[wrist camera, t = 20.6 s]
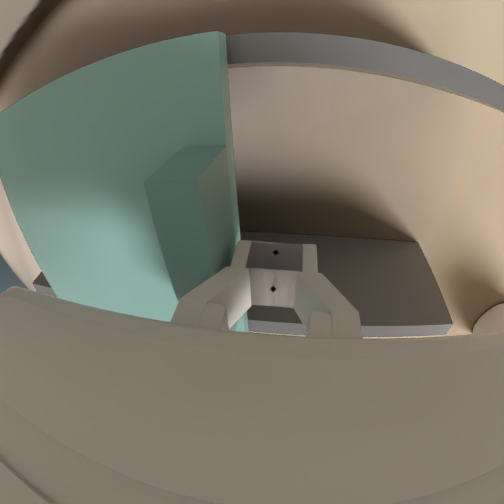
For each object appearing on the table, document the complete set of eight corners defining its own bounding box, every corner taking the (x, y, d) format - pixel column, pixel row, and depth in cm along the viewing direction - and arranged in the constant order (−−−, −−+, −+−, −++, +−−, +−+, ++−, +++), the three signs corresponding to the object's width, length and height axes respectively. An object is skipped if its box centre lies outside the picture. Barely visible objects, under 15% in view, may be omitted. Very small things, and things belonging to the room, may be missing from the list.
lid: (249, 334, 17) (238, 390, 14) (73, 304, 19) (51, 340, 16) (225, 34, 7) (181, 16, 4) (-3, 117, 9) (-50, 143, 6)
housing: (414, 252, 23) (445, 334, 15) (85, 235, 28) (37, 292, 20) (450, 78, 13) (535, 104, 5) (46, 101, 18) (-29, 137, 10)
